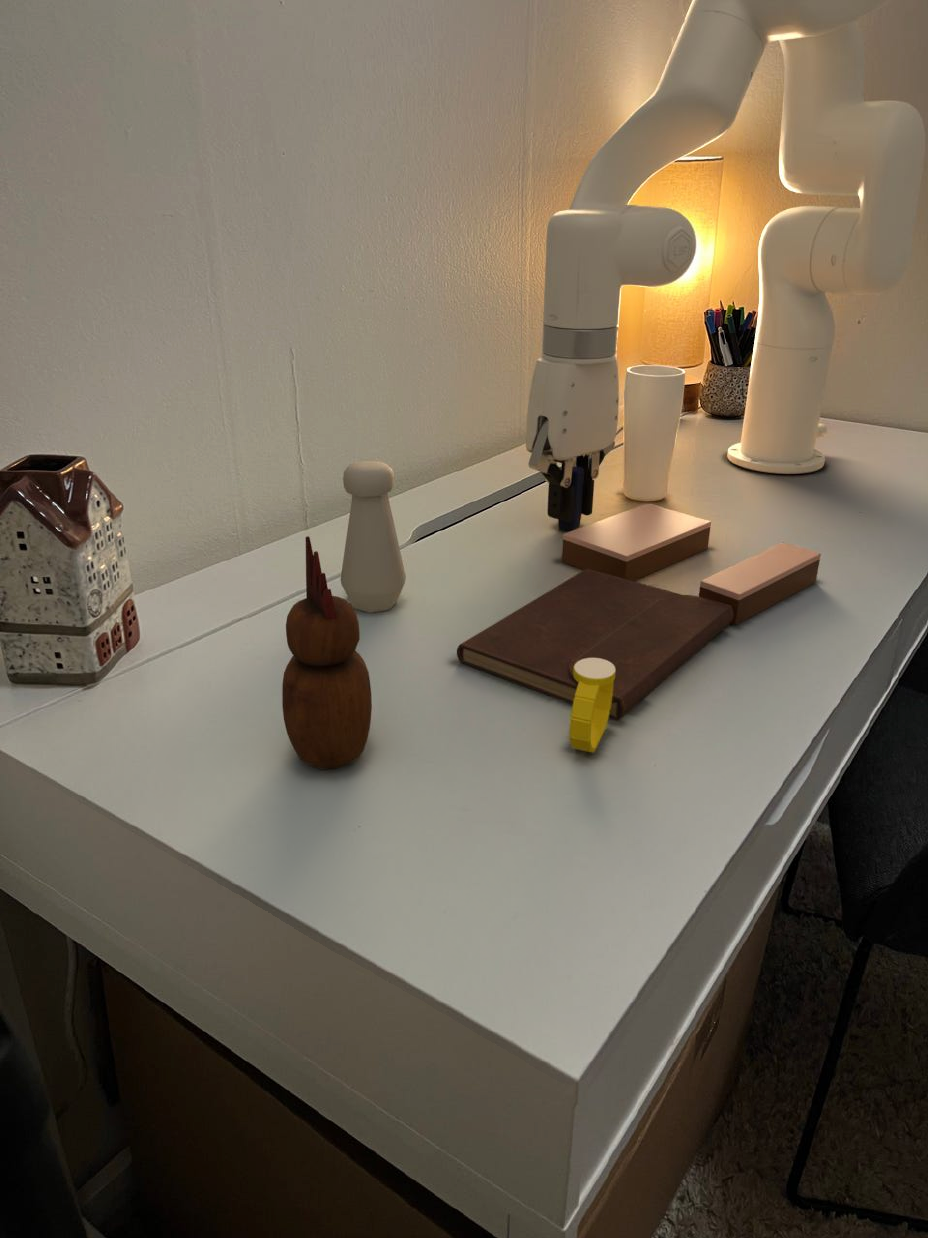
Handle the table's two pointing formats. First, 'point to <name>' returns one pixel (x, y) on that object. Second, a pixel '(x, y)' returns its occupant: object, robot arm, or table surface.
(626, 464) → the drinking glass
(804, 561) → the brown long rectangular block
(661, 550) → the brown and tan block
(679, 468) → the table surface
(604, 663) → the watch
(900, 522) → the table surface
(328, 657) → the wooden figurine
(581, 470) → the eraser
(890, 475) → the table surface
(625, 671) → the notebook
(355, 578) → the salt shaker
